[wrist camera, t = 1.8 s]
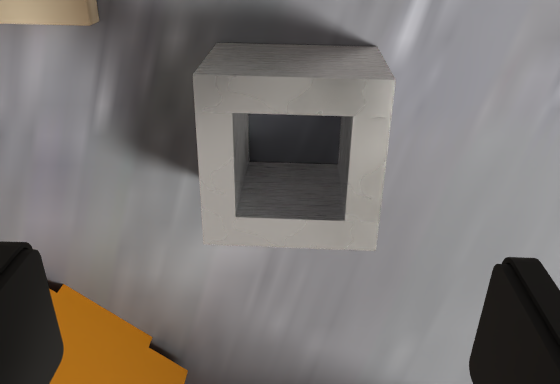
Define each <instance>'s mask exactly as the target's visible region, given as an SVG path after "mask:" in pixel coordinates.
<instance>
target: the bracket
mask: <svg viewBox="0 0 560 384" xmlns="http://www.w3.org/2000/svg"><path fill="white" fill-rule="evenodd" d="M49 290H50V294H51V298H52V302H53V306H54V309H55V313H56V317H57V321H58V325H59V329H60V333H61V337H62V341H63V345H64V352H63V357H62V360H61V363H60V365H59V367H58V369H57V370H56V372H55V374H54V376H53V378H52V380H51V382H50V384H184V383H185V379H186V376H187V372H188V370H186V369H184V368H183V367H181V366H179V365H178V364H176V363H174V362H172V361H171V360H169V359H167V358H166V357H164V356H162V355H161V354H159V353H157V352H156V351H154V350H152V349H151V348H149V345H150V342H151V340H152V337H151V336H149V335H148V334H146V333H144V332H143V331H141V330H139V329H138V328H136V327H134V326H133V325H131V324H129V323H128V322H126V321H124V320H123V319H121V318H119V317H118V316H116V315H114V314H113V313H111V312H109V311H108V310H106V309H104V308H103V307H101V306H99V305H98V304H96V303H94V302H93V301H91V300H89V299H88V298H86V297H84V296H83V295H81V294H79V293H78V292H76V291H74V290H73V289H71V288H69V287H68V286H66V285H64V284H63V285H62V287H61V288H60V289H59V290H58V292H57V293H56V292H54V291H53V290H51V289H49Z"/></svg>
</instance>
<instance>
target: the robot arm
mask: <svg viewBox="0 0 560 384" xmlns="http://www.w3.org/2000/svg"><path fill="white" fill-rule="evenodd" d="M63 352H64V345H63V341H62V337H61V333H60V329H59V325H58V321H57V317H56V313H55V309H54V306H53V302H52V298H51V294H50V290H49V286H48V282H47V278H46V274H45V271H44V267H43V263H42V259H41V255H40V253H39V252H38V250H33V249H32V246H31V245H30V244H29V243H26V242H0V384H50V382H51V380H52V378H53V376H54V374H55V372H56V370H57V369H58V367H59V365H60V363H61V360H62V357H63ZM469 370H470V376H471V379H472V382H473V384H560V290H559V289H558V287H557V286H556V284H555V283H554V281H553V280H552V278H551V277H550V275H549V274H548V272H547V271H546V270H545V268H544V267H543V265H542V264H541V262H540V261H539V260H538V259H536V258H518V257H507V258H505V259H504V261H503V262H502V264H496V265H495V266H494V268H493V271H492V275H491V279H490V283H489V287H488V291H487V294H486V298H485V302H484V306H483V310H482V314H481V317H480V321H479V325H478V329H477V333H476V337H475V341H474V344H473V348H472V352H471V356H470V361H469Z"/></svg>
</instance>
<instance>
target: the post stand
mask: <svg viewBox="0 0 560 384" xmlns="http://www.w3.org/2000/svg"><path fill="white" fill-rule="evenodd" d="M97 22H99V16H98V9H97V2H96V0H0V24H42V25H87V26H90V25H92V24H94V23H97Z"/></svg>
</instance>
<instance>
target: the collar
mask: <svg viewBox="0 0 560 384" xmlns="http://www.w3.org/2000/svg"><path fill="white" fill-rule="evenodd" d="M395 83H396V79H395V77H394V76H393V74H392V72H391V70H390V68H389V67H388V65H387V63H386V61H385V59H384V58H383V56H382V54H381V52H380V50H379V49H378V47H373V46H330V45H287V44H245V43H216V45H215V46H214V47H213V49H212V50H211V51H210V53H209V54H208V55H207V56H206V58H205V59H204V60H203V62H202V63H201V64H200V66H199V67H198V68H197V69H196V71H195V72H194V73H193V90H194V105H195V121H196V136H197V151H198V166H199V181H200V197H201V212H202V227H203V242H204V244H206V245H232V246H259V247H285V248H311V249H337V250H363V251H376V245H377V236H378V228H379V219H380V211H381V202H382V194H383V185H384V177H385V168H386V160H387V151H388V143H389V134H390V126H391V117H392V109H393V100H394V92H395ZM249 113H252V114H287V115H322V116H341V127H340V141H339V156H338V164H308V163H277V162H249Z"/></svg>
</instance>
